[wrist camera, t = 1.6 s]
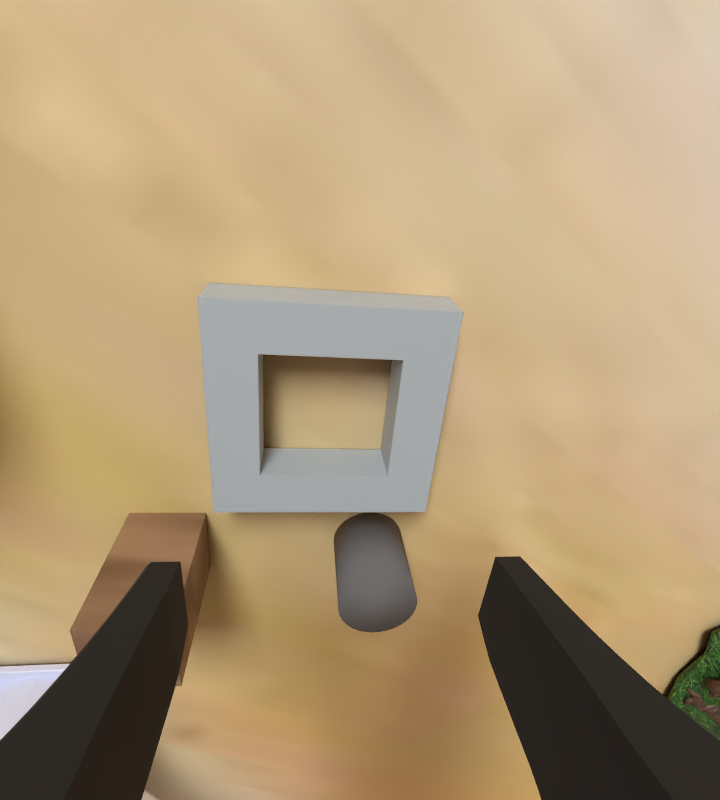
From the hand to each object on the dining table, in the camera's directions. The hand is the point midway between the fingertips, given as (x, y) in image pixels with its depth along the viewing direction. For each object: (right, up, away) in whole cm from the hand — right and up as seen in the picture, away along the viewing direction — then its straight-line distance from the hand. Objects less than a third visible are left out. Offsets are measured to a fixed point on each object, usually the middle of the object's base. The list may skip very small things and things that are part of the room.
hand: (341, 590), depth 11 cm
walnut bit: (-9, -2, +11) cm, 15 cm away
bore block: (-1, +5, +9) cm, 10 cm away
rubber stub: (+1, -3, +13) cm, 13 cm away
